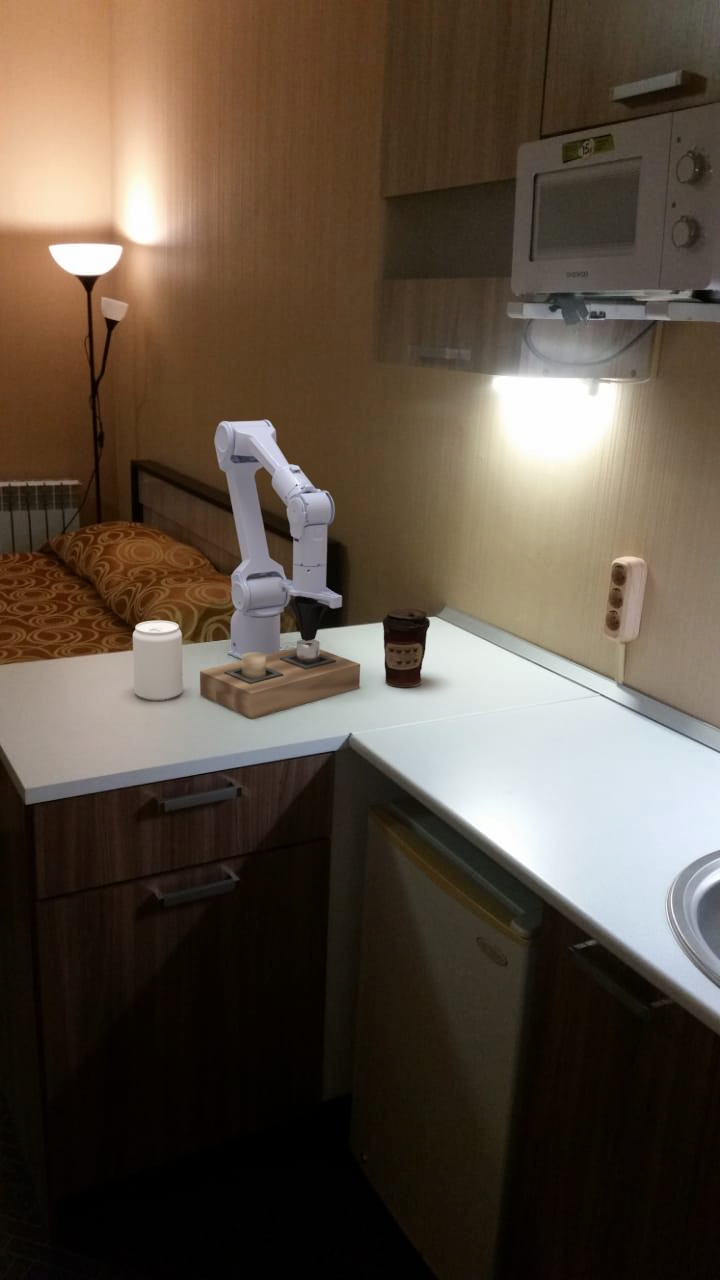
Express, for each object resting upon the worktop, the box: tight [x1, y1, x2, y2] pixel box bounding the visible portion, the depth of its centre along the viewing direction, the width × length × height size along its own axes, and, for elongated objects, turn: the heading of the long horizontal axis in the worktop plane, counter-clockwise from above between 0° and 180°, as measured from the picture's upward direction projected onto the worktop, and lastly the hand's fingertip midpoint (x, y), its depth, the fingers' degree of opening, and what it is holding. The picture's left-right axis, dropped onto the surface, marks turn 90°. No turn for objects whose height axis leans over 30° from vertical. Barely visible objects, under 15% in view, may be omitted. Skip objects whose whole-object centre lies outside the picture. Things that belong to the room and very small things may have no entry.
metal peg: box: [296, 639, 321, 665], centre depth 190 cm, size 4×4×4 cm
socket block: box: [199, 647, 361, 720], centre depth 187 cm, size 14×24×5 cm, turn 134°
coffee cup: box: [382, 608, 431, 688], centre depth 192 cm, size 9×8×13 cm
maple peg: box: [241, 652, 266, 680], centre depth 182 cm, size 4×4×4 cm
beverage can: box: [132, 620, 184, 701], centre depth 183 cm, size 8×8×12 cm
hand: (308, 639), depth 189 cm, fingers closed
